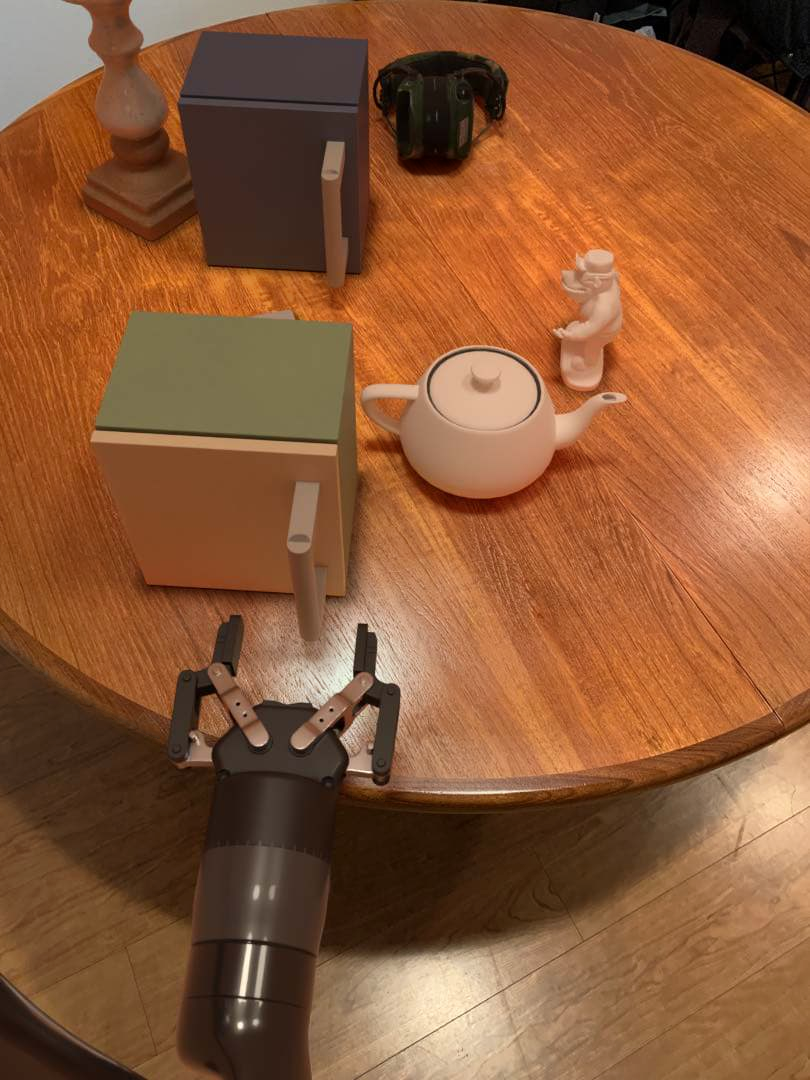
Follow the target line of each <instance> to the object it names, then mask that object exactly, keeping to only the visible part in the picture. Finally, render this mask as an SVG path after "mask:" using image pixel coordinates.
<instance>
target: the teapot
mask: <svg viewBox="0 0 810 1080" xmlns="http://www.w3.org/2000/svg"><path fill="white" fill-rule="evenodd" d="M381 399H383V400H385V399H386V400H387V399H388V400H405V403H404V405H403V408H402V413H401V417H400V420H399V419H397V418H394V417H393V416H390V415H389V414H387V413H386V412H384V411H383V410H382V409H381V408H379V406H378V405H377V404H376V403H375V401H374V400H381ZM627 399H628V397H627V395H625V394H624V393H621V392H614V391H605V392H600V393H598V394H596V395H594V396H591V398H589V399H587V400H586V401H585V402H583V404H582V405H581V406H580V407H579V408H577V409H575V410H573V411H570V412H566V413H559V414H557V413H556V410H555V405H554V403H553V401H552V398H551V396H550V393H549V390H548V388H547V386H546V383H545V382H544V380H543V378H542V375H541V374H540V373H539V371H538V370H537V369H536V367H535V366H534V365H533V364H531V362H530V361H529V360H527V359H526V358H524V357H523V356H521V355H519V354H518V353H516V352H514V351H511V350H509V349H506V348H502V347H499V346H493V345H485V344H473V345H465V346H461V347H457V348H455V349H451V350H449V351H447V352H445V353H443V354H441V355H440V356H438V358H436V359H435V360H433V362H432V363H431V364H430V365H429V366H428V367H427V369H426V370H425V371H424V372H423V373H422V375H421V376H420V377H419V378H418V380H417V381H416V382H415V384H407V383H375V384H374V383H373V384H370V385H367V386H366V387H364V388H363V390H362V391H361V393H360V397H359V402H360V407H361V410H362V411H363V413H364V415H366V417H367V418H368V419H369V420H371V422H373V423H374V424H375V425H377V426H379V427H380V428H382V429H383V430H385V431H387V432H389V433H390V434H393V435H396V436H398V437H399V438H400V444H401V447H402V450H403V454H404V455H405V457H406V459H407V461H408V463H409V464H410V466H411V468H413V470H414V471H416V473H417V474H418V475H419V476H420V477H421V478H422V479H423V480H425V481H426V482H427V483H428V484H429V485H432V486H433V487H435V488H437V489H439V490H441V491H443V492H445V493H448V494H452V495H454V496H457V497H464V498H468V499H494V498H500V497H506V496H508V495H511V494H514V493H517V492H519V491H522V490H523V489H525V488H526V487H528V486H531V484H532V483H534V482H535V481H536V480H537V479H538V478H540V476H541V475H543V474H544V472H545V471H546V469H547V468H548V467H549V465H550V463H551V462H552V459H553V457H554V455H555V454H554V453H555V451H559V450H563V449H567V448H568V447H571V446H573V445H574V444H576V443H578V441H579V440H581V439H582V438H583V436H584V435H585V433H586V432H587V431H588V430H589V428H590V426H591V424H592V423H593V422H594V420H595V419H596V417H597V416H598V415H599V414H600V413H601V412H602V411H604V410H605V409H607V408H609V407H612V406H615V405H617V404H618V405H619V404H621V403H624V402H626V401H627Z"/></svg>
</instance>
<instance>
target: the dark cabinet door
mask: <svg viewBox="0 0 810 1080" xmlns="http://www.w3.org/2000/svg"><path fill="white" fill-rule="evenodd" d="M176 106H177V109H178V116H179V120H180V127H181V131H182V137H183V143H184V148H185V152H186V156H187V158H188V163H189V169H190V174H191V179H192V184H193V190H194V195H195V200H196V205H197V211H198V212H197V214H198V215H197V216H198V221H199V226H200V231H201V236H202V242H203V247H204V252H205V257H206V263H207V266H221V267H222V266H223V267H224V266H226V267H242V268H258V269H259V268H261V269H278V270H292V271H293V270H294V271H313V272H326V278H327V281H326V282H327V284H328V286H329V287H330V288H332V289H338V288H341V287H343V286H344V284H345V278H346V277H345V276H346V273H347V274H348V273H349V274H351V273H353V274H361V273H362V266H361V220H360V172H359V125H358V107H353V106H334V105H315V104H296V103H278V102H259V101H240V100H221V99H202V98H183V97H180V96H179V97H178V100H177V102H176Z"/></svg>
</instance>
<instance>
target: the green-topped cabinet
mask: <svg viewBox="0 0 810 1080" xmlns="http://www.w3.org/2000/svg"><path fill="white" fill-rule="evenodd" d="M355 374H356V373H355V346H354V324H353V323H352V322H339V321H321V320H307V319H305V320H304V319H295V320H289V319H271V318H253V317H250V316H236V315H235V316H233V315H216V314H201V313H200V314H199V313H183V312H182V313H180V312H179V313H178V312H165V311H163V312H161V311H143V310H131V311H130V315H129V317H128V320H127V324H126V326H125V329H124V333H123V335H122V338H121V342H120V346H119V348H118V351H117V354H116V357H115V360H114V363H113V367H112V369H111V372H110V376H109V378H108V380H107V381H108V382H107V385H106V388H105V391H104V394H103V397H102V399H101V403H100V406H99V410H98V411H97V415H96V419H95V421H94V425H93V426H94V428H95V430H96V431H113V432H130V433H148V434H165V435H182V436H199V437H216V438H234V439H251V440H268V441H285V442H303V443H320V444H336V445H337V446H338V461H339V478H340V495H341V512H342V529H343V546H344V563H345V580H346V584H347V582H348V574H349V573H348V572H349V563H350V555H351V545H352V538H353V537H352V535H353V527H354V526H353V525H354V517H355V508H356V498H357V489H358V482H359V481H358V480H359V473H358V471H359V469H358V467H359V466H358V444H357V443H358V440H357V437H358V436H357V410H356V409H357V408H356V380H355V379H356V377H355Z"/></svg>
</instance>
